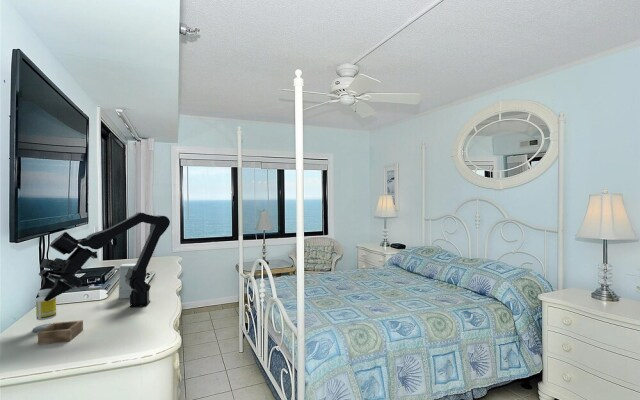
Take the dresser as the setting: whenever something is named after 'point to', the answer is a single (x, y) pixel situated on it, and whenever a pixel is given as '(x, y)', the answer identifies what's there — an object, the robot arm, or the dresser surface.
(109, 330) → the dresser surface
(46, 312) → the supplement bottle
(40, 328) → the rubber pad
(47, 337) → the wooden tray
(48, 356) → the dresser surface
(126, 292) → the skincare box
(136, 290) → the robot arm
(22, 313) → the dresser surface
